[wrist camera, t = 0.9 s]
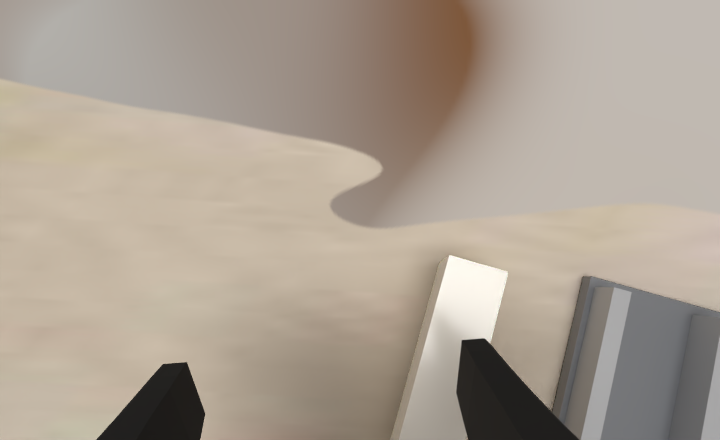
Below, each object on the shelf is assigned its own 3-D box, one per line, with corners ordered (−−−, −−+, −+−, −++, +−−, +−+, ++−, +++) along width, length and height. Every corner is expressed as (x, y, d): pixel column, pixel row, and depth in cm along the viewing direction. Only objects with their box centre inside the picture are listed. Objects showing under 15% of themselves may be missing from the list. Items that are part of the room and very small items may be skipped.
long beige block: (427, 487, 22) (434, 563, 16) (381, 470, 22) (371, 537, 16) (482, 275, 23) (508, 271, 17) (439, 262, 23) (449, 255, 18)
